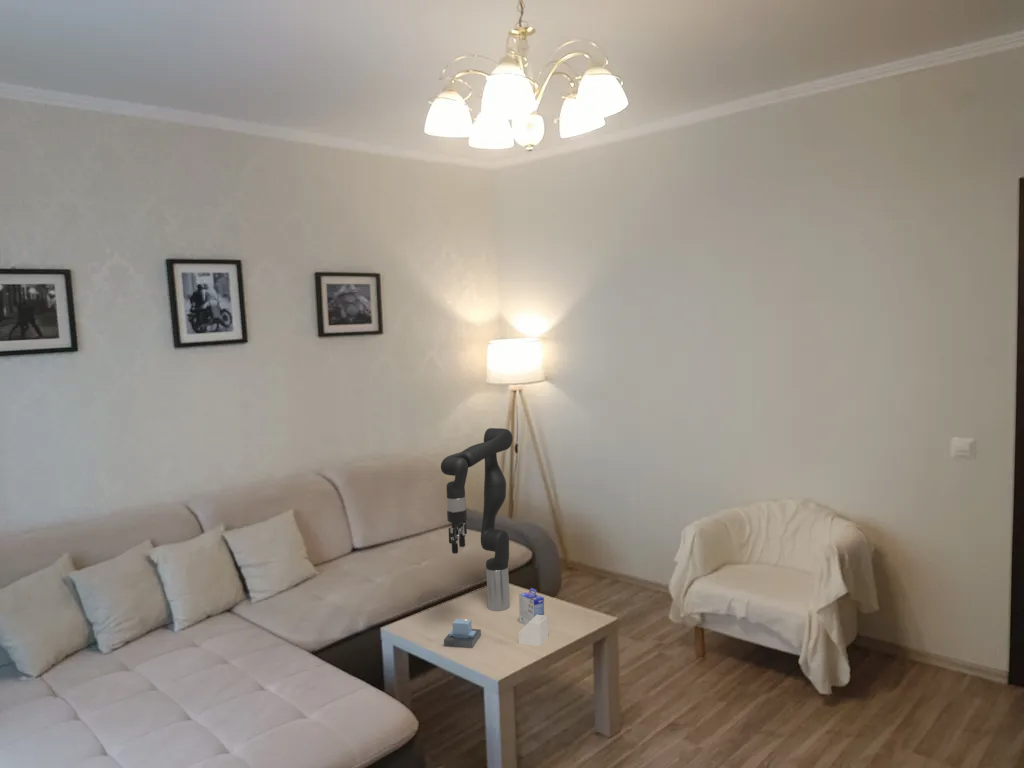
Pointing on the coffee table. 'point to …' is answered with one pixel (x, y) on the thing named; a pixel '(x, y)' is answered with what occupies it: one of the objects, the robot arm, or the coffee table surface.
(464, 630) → the servo
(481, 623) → the coffee table surface
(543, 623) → the white sloped wedge
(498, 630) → the coffee table surface
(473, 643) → the tray
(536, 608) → the ink cartridge box
